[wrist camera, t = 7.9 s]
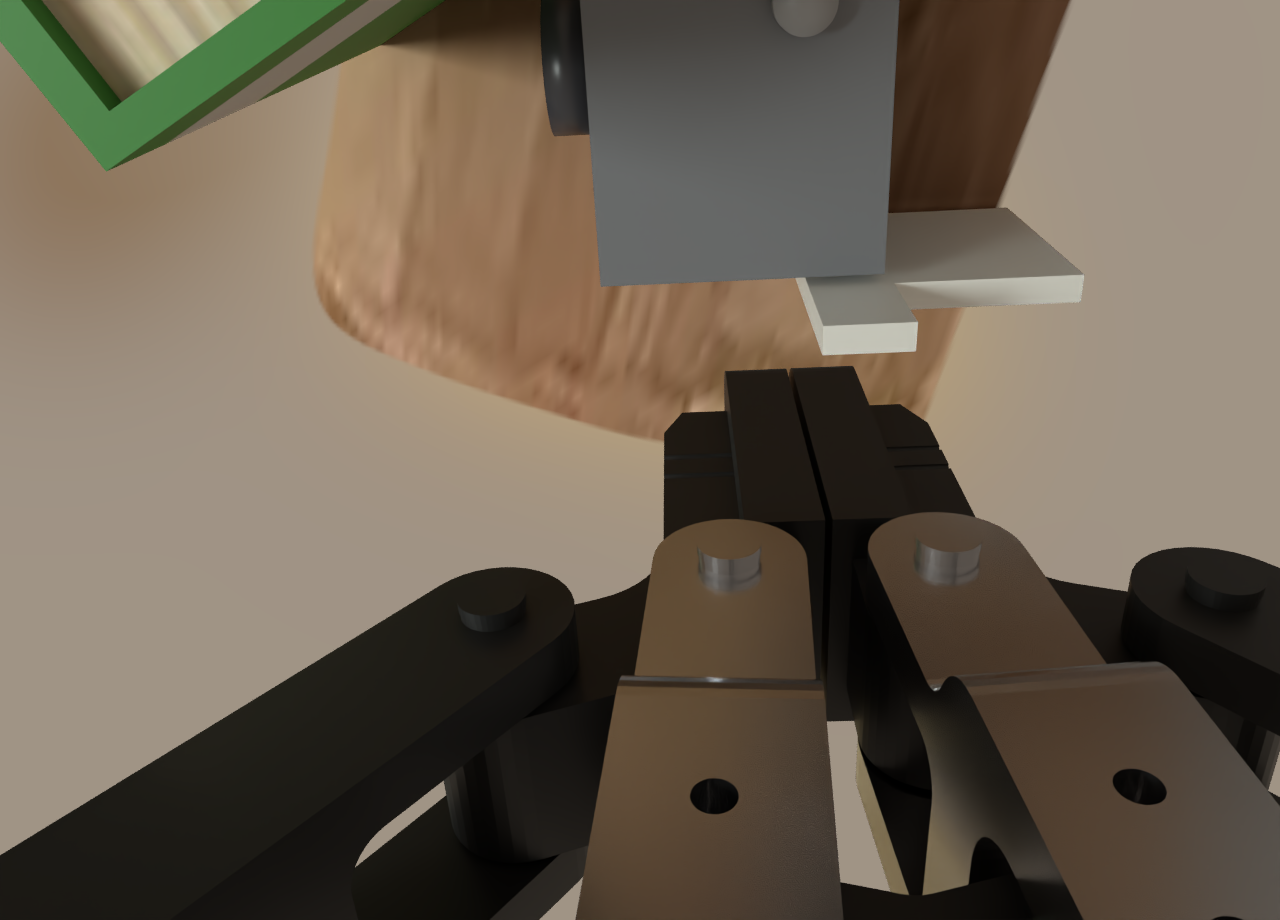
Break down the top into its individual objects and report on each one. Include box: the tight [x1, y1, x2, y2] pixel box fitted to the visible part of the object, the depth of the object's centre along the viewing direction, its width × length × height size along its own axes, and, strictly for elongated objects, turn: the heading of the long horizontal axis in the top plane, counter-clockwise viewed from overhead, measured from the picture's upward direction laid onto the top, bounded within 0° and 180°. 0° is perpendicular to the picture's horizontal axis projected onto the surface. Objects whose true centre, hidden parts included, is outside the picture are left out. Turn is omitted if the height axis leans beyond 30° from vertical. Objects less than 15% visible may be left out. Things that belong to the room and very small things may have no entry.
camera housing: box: [540, 0, 899, 287], centre depth 39 cm, size 12×12×11 cm
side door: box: [796, 208, 1084, 355], centre depth 40 cm, size 1×10×14 cm, turn 93°
